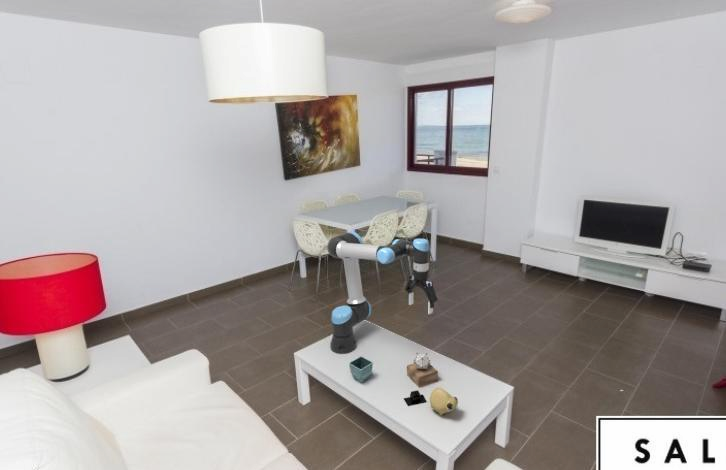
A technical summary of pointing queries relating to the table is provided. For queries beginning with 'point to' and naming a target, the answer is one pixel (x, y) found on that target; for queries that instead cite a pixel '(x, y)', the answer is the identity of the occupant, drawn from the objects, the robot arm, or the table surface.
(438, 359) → the table surface
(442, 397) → the toy pig
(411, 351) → the table surface
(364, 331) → the table surface
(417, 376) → the walnut block
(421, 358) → the game die
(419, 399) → the black angular block
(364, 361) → the flower pot
